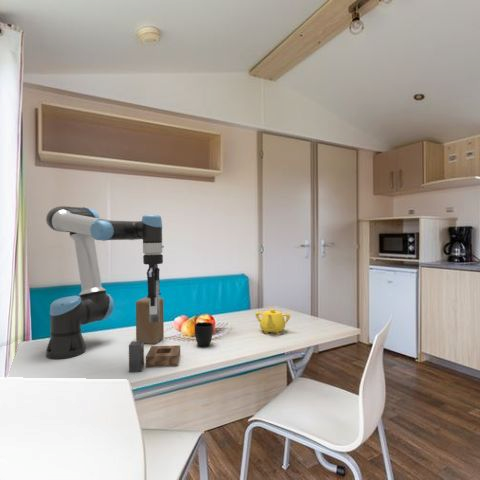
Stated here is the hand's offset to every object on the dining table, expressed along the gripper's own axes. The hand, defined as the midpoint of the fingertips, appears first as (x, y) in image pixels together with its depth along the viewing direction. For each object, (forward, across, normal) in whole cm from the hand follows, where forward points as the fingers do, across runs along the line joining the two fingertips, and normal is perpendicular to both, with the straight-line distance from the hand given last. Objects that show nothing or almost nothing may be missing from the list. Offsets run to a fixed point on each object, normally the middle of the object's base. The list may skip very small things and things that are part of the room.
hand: (154, 312), depth 134 cm
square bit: (+20, -7, +6) cm, 22 cm away
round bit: (+3, 0, 0) cm, 3 cm away
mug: (+20, +20, -17) cm, 33 cm away
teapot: (+20, +35, -52) cm, 66 cm away
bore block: (+20, +1, -3) cm, 20 cm away
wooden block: (+19, +27, +8) cm, 34 cm away
